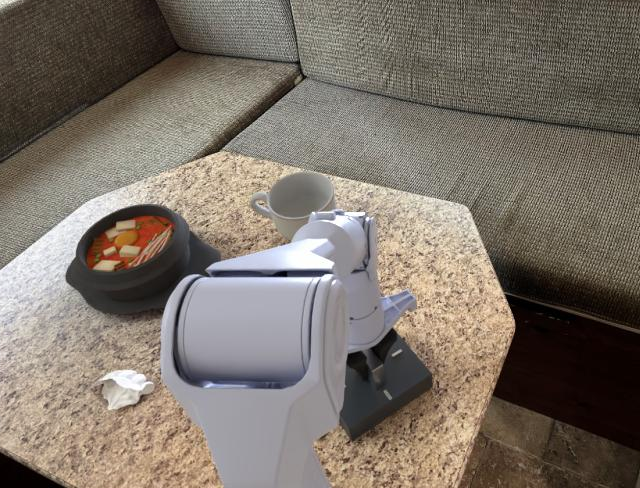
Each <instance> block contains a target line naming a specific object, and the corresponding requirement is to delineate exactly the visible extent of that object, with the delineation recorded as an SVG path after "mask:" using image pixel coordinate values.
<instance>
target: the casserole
mask: <svg viewBox="0 0 640 488" xmlns="http://www.w3.org/2000/svg"><path fill="white" fill-rule="evenodd" d="M220 261H222V255H221V253H220V251H219V250H218V249H217V248H215V247H213V246H211V245H210V244H208V243H206V242H204V241H203V240H202V239H201V238H200V237H199V236H198V235H197V234H196V233H195V232H194V231H192V230H191V229H190V225H189V223H188V221H187V220H186V218H184V217H183V215H181V214H179V213H177V212H175V211H173V210H172V209H171V208H168V207H167V206H164V205H161V204H156V203H139V204H133V205H129V206H125V207H123V208H120V209H117V210H115V211H113V212H110V213H109V214H107V215H105V216H103V217H101V218H100V219H99V220H97V221H96V222H95V223H93V224H92V225H91V226H90V227H89V228H88V229H87V230H86V231H85V232H84V233H83V235H82V236H81V237H80V239H79V241H78V243H77V244H76V249H75V256H74V257H73V259H72V260H71V262H70V264H69V266H68V267H67V269H66V271H65V275H64V277H65V282H66V283H67V284H68V285H69V286H70V287H71V288H72V289H74V290H75V291H77V292H78V293H79V294H80V296H81V297H82V298H83V300H84V301H85V303H86V304H87V305H88V306H90V307H91V308H92V309H94V310H95V311H98V312H101V313H103V314H109V315H130V314H134V313H135V314H136V313H139V312H145V311H150V310H155V309H156V310H157V309H165V307H166V304H167V302H168V299H169V298H170V296H171V294H172V293H173V291H174V290H175V289H176V287H177V286H178V284H179V283H180V282H181V281H182V280H183V279H184V278H185V277H187V276H190V275H203V276H206V277H209V278H211V276H210V275H209V273H207V272H206V271H205V270H206V269H207V268H208V267H209V266H211V265H212V264H214V263H216V262H220Z"/></svg>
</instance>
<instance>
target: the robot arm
mask: <svg viewBox="0 0 640 488" xmlns="http://www.w3.org/2000/svg"><path fill="white" fill-rule="evenodd" d="M378 230H379V229H378V225H377V220H376V217H375V216H372V217H369V215H368V212H367V211H345V209H337V210H331V211H330V212H317V213H316V214H315V212H312V213H311V215H310V217H309V221H308V224H306V225H304V226H303V227H301V228H300V229H299V230H298V231H297V232H296V234H295V235H294V237H293V239H292V241H291V240H290V243H286V244H282V245H279V246H275V247H271V248H267V249H264V250H259V251H256V252H252V253H248V254H245V255H240V256H237V257H232V258H229V259H225V260H221V261H220V262H216V263H214V264H212V265H211V266H209V267H208V268H207V269H206V270H205V271H206V272H207V273H209V275H210V276H211V278H209V277H206V276H203V275H190V276H187V277H185V278H184V279H183V280H182V281H181V282H180V283H179V284H178V286H177V287H176V289H175V290H174V291H173V293H172V294H171V296H170V298H169V299H168V302H167V304H166V307H165V308H164V311H163V315H162V318H161V326H160V363H159V365H160V372H161V373H160V380H161V381H162V383H163V384H164V385H165V387H166V388H167V390H168V391H169V392H170V394H171V395H172V397H173V398H174V399H175V400H176V402H177V403H178V405H179V406H180V407H181V409H182V410H183V411H184V412H185V414H186V415H187V416H188V419H190V420H191V422H192V423H193V424H194V425H195V426H197V427H198V428H199V429H201V430H202V432H203V435H204V437H205V440H206V443H207V446H208V449H209V452H210V455H211V457H212V460H213V463H214V466H215V468H216V471H217V474H218V477H219V480H220V482H221V484H222V487H223V488H333V487H332V485H331V483H330V481H329V478H328V476H327V474H326V472H325V470H324V468H323V465H322V464H321V461H320V459H319V456H318V454H317V452H316V450H315V447H314V445H313V443H314V442H316V441H317V440H319V439H321V438H322V437H323V436H325V435H326V434H328V433H329V432H331V431H333V430H334V429H336V428H338V426H339V425H340V423H339V414H340V411H341V409H342V407H343V402H344V388H345V372H346V365H347V366H348V367H349V368H351V369H354V370H355V371H356V372H357V374H358V375H359V377H360V378H361V379H362V381H365V380H366V379H368V373H367V370H366V360H367V356H366V355H365V354H364V352H363V351H362V350H365V349H368V348H371V349H372V351H373V352H374V353H375V354H376V356H377V357H378V358H379V360H380V361H381V362H382V363H383V366H384V363H385V359H386V356H387V354H388V352H389V350H390V348H391V347H392V345H393V344H394V343H395V342H396V341H397V333H398V332H397V330H396V329H395V328H394V326H395V325H396V323H397V322H398V321H399V320H400V319H401V318H402V316H403V315H404V314H405V313H407V311H408V312H409V313H413V312H415V311H416V310H418V300H417V297H416V296H415V295H414V294H413V293H412V292H411V291H410V289H408V288H406V289H404V290H402V291H400V292H397V293H394V294H390V295H389V294H388V295H386V296H382V294H381V288H380V282H379V281H380V280H379V275H378V268H379V267H378V266H379V252H378V251H379V233H378V232H379V231H378ZM396 332H397V333H396Z"/></svg>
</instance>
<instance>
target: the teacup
mask: <svg viewBox="0 0 640 488" xmlns="http://www.w3.org/2000/svg"><path fill="white" fill-rule="evenodd" d="M257 201H262V202H264V203H265V204H266V206H267V208H266V207H263V206H262V205H260V204H259V203H258V202H257ZM249 206H250V209H251V210H252V211H253V212H254V213H256V214H258V215H259V216H261V217H265V218H266V219H267V218H268V219H270V220H271V221H272V222H273V224H274V227H275V228H276V230H277V232H278V233H279V234H280V235H281V236H282V237H283V238H284V239H287V240H289V241H290V242H291V241H292V239H293V237H294V235H295V234H296V232H297V231H298V230H299V229H300V228H301V227H303V226H304V225H306V224H308V221H309V217H310V215H311V213H312V212H315V214H316V213H317V212H330V211H331V210H338V207H337V206H338V205H337V200H336V195H335V187H334V184H333V182H332V180H331V179H330V178H328V176H327V175H324V174H322V173H320V172H317V171H312V170H311V171H310V170H303V171H302V170H301V171H295V172H292V173H289V174H286V175H284V176H281V178H280V179H278V180H276V181H275V182H274V183H273V184H272V185H271V187H270V188H269V190H268V191H267V193H266V192H262V191H257V192H254V193H252V195H251V196H250V198H249Z"/></svg>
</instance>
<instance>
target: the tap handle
mask: <svg viewBox="0 0 640 488" xmlns="http://www.w3.org/2000/svg"><path fill="white" fill-rule="evenodd" d="M362 351H363V352H364V354H365V355H366V356H367V360H366V370H367V373H368V380H369V381H370V383H371V384H372V386H373V387H374V388H375V389H378V388H380V387H381V386H383V385H384V384H386V377H385V372H384V366H383V363H382V362H381V361H380V360H379V358H378V357H377V356H376V354H375V353H374V352H373V351H372V349H371V348H368V349H365V350H362Z"/></svg>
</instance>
